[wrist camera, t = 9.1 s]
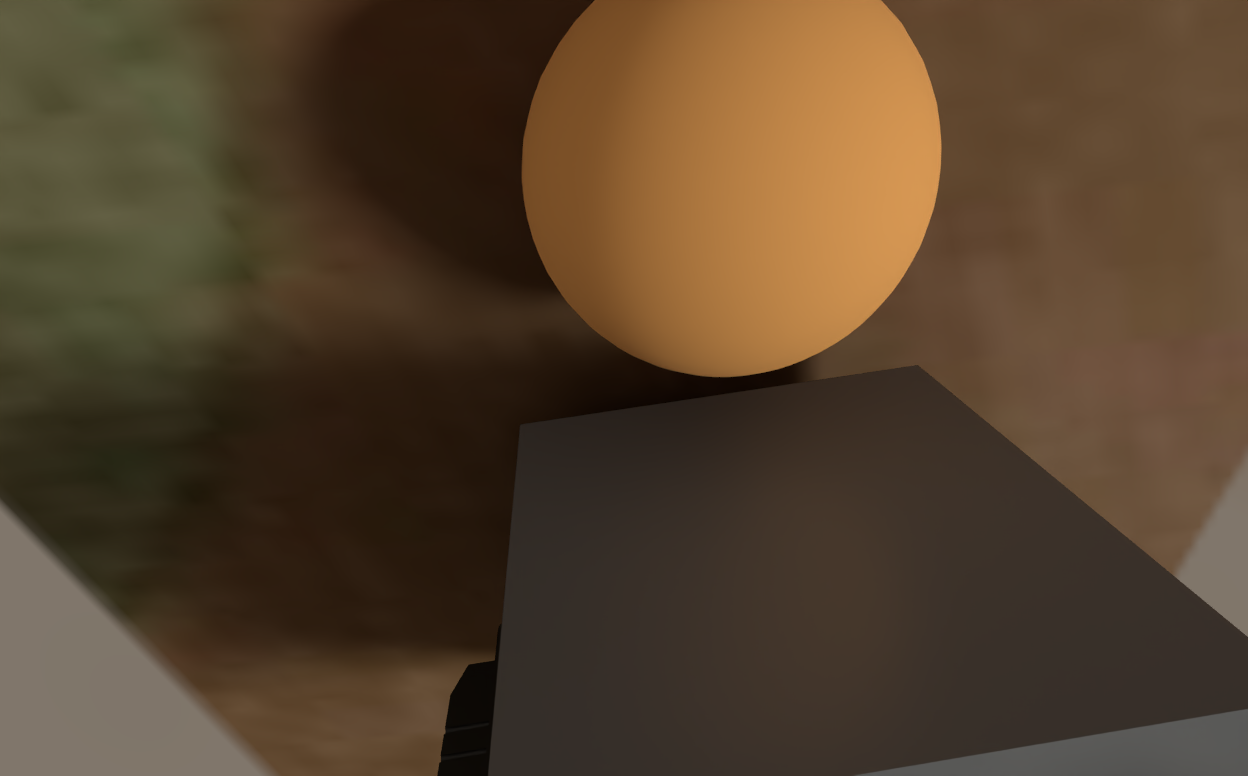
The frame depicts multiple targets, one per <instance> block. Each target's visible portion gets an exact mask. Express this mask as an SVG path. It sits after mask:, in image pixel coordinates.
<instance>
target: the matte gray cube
mask: <svg viewBox="0 0 1248 776" xmlns="http://www.w3.org/2000/svg"><path fill="white" fill-rule="evenodd" d="M488 776H1248V637H1247V636H1246V635H1245V634H1243V633H1242V632H1241V631H1240V630H1239V629H1237V628H1236V627H1235V626H1234V625H1233V624H1231V623H1230V622H1229V621H1228V620H1226V619H1225V618H1224V617H1223V616H1222V615H1220V614H1219V613H1218V612H1217V611H1216V610H1214V609H1213V608H1212V607H1211V606H1209V605H1208V604H1207V603H1206V602H1204V601H1203V600H1202V599H1201V598H1200V597H1198V596H1197V595H1196V594H1195V593H1194V592H1192V591H1191V590H1190V589H1189V588H1187V587H1186V586H1185V585H1184V584H1183V583H1182V582H1180V581H1179V580H1178V579H1177V578H1175V577H1174V576H1173V575H1172V574H1171V573H1169V572H1168V571H1167V570H1166V569H1165V568H1163V567H1162V566H1161V565H1160V564H1158V563H1157V562H1156V561H1155V560H1154V559H1152V558H1151V557H1150V556H1149V555H1148V554H1146V553H1145V552H1144V551H1143V550H1142V549H1140V548H1139V547H1138V546H1137V545H1135V544H1134V543H1133V542H1132V541H1131V540H1129V539H1128V538H1127V537H1126V536H1125V535H1123V534H1122V533H1121V532H1120V531H1118V530H1117V529H1116V528H1115V527H1114V526H1112V525H1111V524H1110V523H1109V522H1108V521H1106V520H1105V519H1104V518H1103V517H1101V516H1100V515H1099V514H1098V513H1097V512H1095V511H1094V510H1093V509H1092V508H1091V507H1089V506H1088V505H1087V504H1086V503H1084V502H1083V501H1082V500H1081V499H1080V498H1078V497H1077V496H1076V495H1075V494H1074V493H1072V492H1071V491H1070V490H1069V489H1067V488H1066V487H1065V486H1064V485H1063V484H1061V483H1060V482H1059V481H1058V480H1057V479H1055V478H1054V477H1053V476H1052V475H1050V474H1049V473H1048V472H1047V471H1046V470H1044V469H1043V468H1042V467H1041V466H1040V465H1038V464H1037V463H1036V462H1035V461H1033V460H1032V459H1031V458H1030V457H1029V456H1027V455H1026V454H1025V453H1024V452H1023V451H1021V450H1020V449H1019V448H1018V447H1016V446H1015V445H1014V444H1013V443H1012V442H1010V441H1009V440H1008V439H1007V438H1006V437H1004V436H1003V435H1002V434H1001V433H999V432H998V431H997V430H996V429H995V428H993V427H992V426H991V425H990V424H989V423H987V422H986V421H985V420H984V419H983V418H981V417H980V416H979V415H978V414H976V413H975V412H974V411H973V410H972V409H970V408H969V407H968V406H967V405H966V404H964V403H963V402H962V401H961V400H959V399H958V398H957V397H956V396H955V395H953V394H952V393H951V392H950V391H949V390H947V389H946V388H945V387H944V386H942V385H941V384H940V383H939V382H938V381H936V380H935V379H934V378H933V377H932V376H930V375H929V374H928V373H927V372H925V371H924V370H923V369H922V368H921V367H919V366H918V365H915V366H909V367H902V368H895V369H888V370H882V371H875V372H868V373H862V374H855V375H848V376H842V377H835V378H828V379H822V380H815V381H808V382H801V383H795V384H788V385H781V386H775V387H768V388H761V389H755V390H748V391H741V392H735V393H728V394H721V395H715V396H708V397H701V398H694V399H688V400H681V401H674V402H668V403H661V404H654V405H648V406H641V407H634V408H628V409H621V410H614V411H607V412H601V413H594V414H587V415H581V416H574V417H567V418H561V419H554V420H547V421H541V422H534V423H527V424H521V425H520V432H519V443H518V454H517V465H516V476H515V486H514V497H513V508H512V519H511V530H510V541H509V552H508V563H507V574H506V585H505V596H504V607H503V618H502V628H501V639H500V650H499V661H498V672H497V683H496V694H495V705H494V716H493V727H492V738H491V749H490V759H489V770H488Z"/></svg>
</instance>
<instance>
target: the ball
mask: <svg viewBox="0 0 1248 776" xmlns="http://www.w3.org/2000/svg"><path fill="white" fill-rule="evenodd" d="M940 168H941V134H940V122H939V116H938V109H937V103H936V99H935V96H934V92H933V89H932V85H931V82H930V79H929V76H928V73H927V71H926V68H925V65H924V62H923V60H922V58H921V56H920V54H919V53H918V51H917V49H916V47H915V45H914V44H913V42H912V40H911V39H910V37H909V35H908V33H907V32H906V30H905V28H904V27H903V25H902V23H901V22H900V21H899V20H898V19H897V18H896V16H895V15H894V14H893V13H892V12H891V11H890V10H889V9H888V7H887V6H886V5H885V4H884V3H883V2H882V1H881V0H595V1H593V3H592V4H591V5H590V6H589V7H588V8H587V9H586V10H585V11H584V12H583V13H582V14H581V15H580V16H579V17H578V19H577V20H576V21H575V22H574V23H573V25H572V26H571V27H570V29H569V30H568V32H567V33H566V34H565V36H564V37H563V39H562V40H561V41H560V43H559V44H558V46H557V48H556V50H555V51H554V53H553V55H552V57H551V59H550V60H549V62H548V64H547V66H546V68H545V70H544V72H543V74H542V75H541V78H540V80H539V83H538V86H537V89H536V91H535V94H534V97H533V99H532V103H531V107H530V111H529V115H528V120H527V125H526V129H525V134H524V139H523V155H522V186H523V196H524V204H525V209H526V214H527V219H528V223H529V227H530V230H531V234H532V238H533V240H534V243H535V245H536V248H537V250H538V253H539V255H540V258H541V260H542V262H543V264H544V266H545V268H546V271H547V273H548V274H549V276H550V277H551V279H552V281H553V282H554V284H555V285H556V287H557V288H558V290H559V291H560V293H561V294H562V296H563V297H564V299H565V300H566V302H567V303H568V304H569V305H570V306H571V307H572V308H573V309H574V310H575V311H576V312H577V313H578V315H579V316H580V317H581V318H582V319H583V320H584V321H585V322H586V323H587V324H588V325H589V326H590V327H591V328H592V329H593V330H595V331H596V332H597V333H599V334H600V335H601V336H602V337H604V338H605V339H607V340H608V341H609V342H611V343H612V344H614V345H615V346H616V347H618V348H619V349H621V350H623V351H625V352H627V353H628V354H630V355H632V356H634V357H637V358H639V359H641V360H643V361H646V362H648V363H651V364H653V365H655V366H658V367H661V368H664V369H668V370H671V371H675V372H681V373H686V374H692V375H698V376H707V377H736V376H746V375H752V374H758V373H764V372H768V371H772V370H776V369H780V368H783V367H786V366H789V365H792V364H795V363H797V362H800V361H802V360H805V359H807V358H809V357H811V356H813V355H815V354H817V353H819V352H821V351H823V350H825V349H827V348H828V347H830V346H832V345H834V344H835V343H837V342H838V341H840V340H841V339H843V338H844V337H846V336H847V335H849V334H850V333H851V332H852V331H854V330H855V329H856V328H857V327H859V326H860V325H861V324H862V323H863V322H864V321H865V320H866V319H867V318H868V317H870V316H871V315H872V314H873V313H874V312H875V310H876V309H877V308H878V307H879V306H880V305H881V304H882V303H883V302H884V301H885V300H886V298H887V297H888V296H889V295H890V294H891V293H892V291H893V290H894V289H895V287H896V286H897V285H898V283H899V282H900V280H901V279H902V277H903V276H904V274H905V272H906V271H907V269H908V267H909V266H910V264H911V262H912V260H913V259H914V257H915V255H916V253H917V251H918V249H919V247H920V245H921V243H922V240H923V238H924V235H925V232H926V229H927V227H928V224H929V221H930V218H931V215H932V212H933V209H934V205H935V200H936V195H937V190H938V184H939V176H940Z"/></svg>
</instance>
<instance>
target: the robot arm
mask: <svg viewBox="0 0 1248 776" xmlns="http://www.w3.org/2000/svg"><path fill="white" fill-rule="evenodd" d="M501 628H502V624H500V625H499V628H498V635H497V645H496V656H495V661H489V662H483V663H476V664H470V665H468V667H467V668H466V670H465V672H464V673H463V675H462V677H461V678H460V680H459V682H458V683H457V685H456V687H455V688H454V690H453V692H452V693H451V695H450V701H449V707H448V714H447V720H446V726H445V730H446V734H444V738H443V744H442V750H441V762H440V763H439V769H438V775H437V776H488V770H489V759H490V749H491V738H492V727H493V716H494V705H495V694H496V683H497V672H498V661H499V650H500V639H501Z"/></svg>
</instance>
